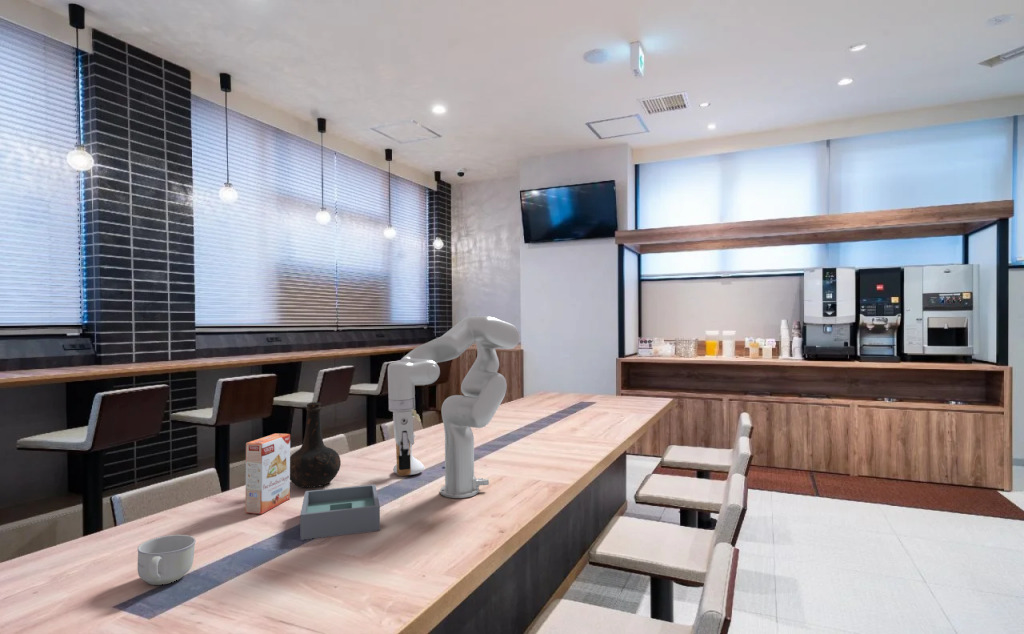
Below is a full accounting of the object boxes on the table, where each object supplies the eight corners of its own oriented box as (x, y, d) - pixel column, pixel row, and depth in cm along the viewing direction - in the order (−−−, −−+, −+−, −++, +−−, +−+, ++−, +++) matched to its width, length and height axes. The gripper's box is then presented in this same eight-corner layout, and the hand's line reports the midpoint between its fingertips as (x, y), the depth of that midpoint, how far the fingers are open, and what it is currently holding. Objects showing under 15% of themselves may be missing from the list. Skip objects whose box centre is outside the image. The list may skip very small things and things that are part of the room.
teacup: (155, 568, 124) (155, 533, 124) (204, 566, 125) (204, 531, 125) (116, 599, 110) (116, 560, 110) (172, 597, 111) (171, 558, 111)
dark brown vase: (296, 496, 174) (296, 409, 174) (278, 483, 187) (277, 402, 187) (349, 484, 186) (349, 403, 185) (328, 473, 199) (328, 397, 199)
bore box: (375, 505, 164) (375, 484, 164) (380, 530, 145) (379, 506, 145) (305, 513, 158) (305, 491, 158) (300, 540, 139) (300, 515, 139)
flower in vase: (421, 477, 193) (420, 407, 192) (389, 477, 193) (389, 407, 193) (427, 467, 206) (427, 402, 206) (398, 467, 206) (397, 402, 206)
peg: (409, 470, 160) (409, 437, 160) (411, 474, 156) (410, 440, 156) (396, 472, 159) (395, 438, 159) (397, 476, 155) (396, 441, 155)
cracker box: (262, 515, 157) (262, 443, 157) (244, 513, 158) (244, 442, 158) (291, 499, 171) (291, 433, 171) (274, 498, 172) (274, 432, 172)
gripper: (418, 408, 150) (420, 473, 151) (411, 398, 166) (413, 457, 167) (391, 410, 148) (393, 477, 148) (386, 400, 164) (388, 460, 164)
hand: (403, 466), depth 158 cm, fingers closed on peg, 4 cm apart
